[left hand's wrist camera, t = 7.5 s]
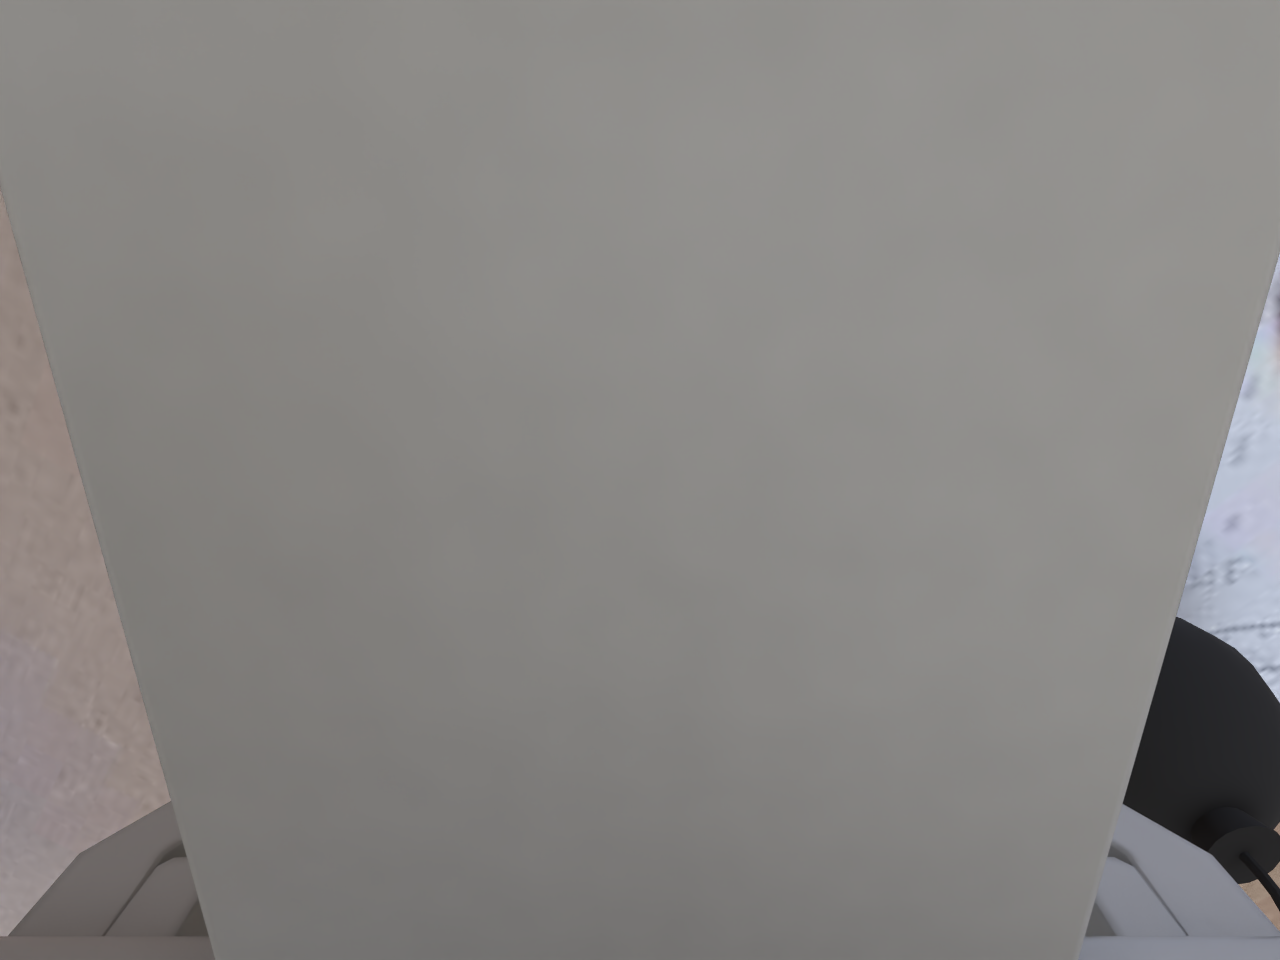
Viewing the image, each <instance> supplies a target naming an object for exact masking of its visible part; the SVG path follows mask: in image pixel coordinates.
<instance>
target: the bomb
mask: <svg viewBox="0 0 1280 960" xmlns="http://www.w3.org/2000/svg"><path fill="white" fill-rule="evenodd" d="M1123 804H1124V805H1125V806H1127V807H1129V808H1131V809H1132V810H1134V811H1136V812H1138V813H1139V814H1141V815H1143V816H1145V817H1146V818H1148V819H1150V820H1152V821H1153V822H1155V823H1157V824H1159V825H1160V826H1162V827H1164V828H1166V829H1167V830H1169V831H1171V832H1173V833H1174V834H1176V835H1178V836H1180V837H1181V838H1183V839H1185V840H1187V841H1189V842H1190V843H1192V844H1194V845H1196V846H1197V847H1199V848H1201V849H1203V850H1204V851H1206V852H1208V853H1210V854H1211V855H1213V857H1214V858H1215V859H1216V860H1217V861H1218V862H1219V863H1220V864H1221V866H1222V867H1223V868H1224V869H1225V870H1226V871H1227V872H1228V874H1229V875H1230V876H1231V877H1232V878H1233V879H1234V880H1235V882H1236V883H1237V884H1242V883H1249V882H1251V881H1254V880H1256V879H1258V880H1259V881H1260V882H1261V884H1262V885H1263V886H1264V888H1265V889H1266V890H1267V891H1268V893H1269V894H1270V895H1271V897H1272V899H1273V901H1274V902H1275V904H1276V906H1277V907H1278V909H1279V911H1280V888H1279V887H1278V886H1277V885H1276V883H1275V882H1274V881H1273V880H1272V878H1271V877H1270V876H1269V875H1268V874H1267V873H1269V872H1270V871H1272V870H1273V869H1274V868H1275V867H1276V865H1277V864H1278V863H1279V862H1280V835H1279V834H1278V833H1277V832H1276V831H1274V828H1275V827H1276V826H1277V825H1278V823H1279V822H1280V703H1279V701H1278V700H1277V698H1276V697H1275V695H1274V694H1273V692H1272V691H1271V690H1270V688H1269V687H1268V686H1267V684H1266V683H1265V681H1264V680H1263V679H1262V677H1261V676H1260V675H1259V673H1258V672H1257V671H1256V669H1255V668H1254V666H1253V665H1252V664H1251V663H1250V662H1249V661H1248V660H1247V659H1246V658H1245V657H1244V656H1242V655H1241V654H1240V653H1239V652H1238V651H1237V650H1236V649H1235V648H1234V647H1232V646H1230V645H1228V644H1227V643H1225V642H1223V641H1222V640H1220V639H1218V638H1217V637H1215V636H1213V635H1211V634H1209V633H1208V632H1206V631H1204V630H1202V629H1200V628H1198V627H1196V626H1194V625H1192V624H1191V623H1189V622H1187V621H1185V620H1183V619H1181V618H1178V617H1176V618H1175V621H1174V625H1173V628H1172V632H1171V635H1170V639H1169V642H1168V646H1167V649H1166V653H1165V656H1164V660H1163V663H1162V667H1161V670H1160V674H1159V677H1158V681H1157V684H1156V688H1155V691H1154V695H1153V698H1152V702H1151V705H1150V709H1149V712H1148V716H1147V720H1146V723H1145V727H1144V730H1143V734H1142V737H1141V741H1140V744H1139V748H1138V751H1137V755H1136V758H1135V762H1134V765H1133V769H1132V772H1131V776H1130V779H1129V783H1128V786H1127V790H1126V793H1125V797H1124V800H1123Z"/></svg>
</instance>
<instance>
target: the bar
mask: <svg viewBox="0 0 1280 960" xmlns="http://www.w3.org/2000/svg"><path fill="white" fill-rule="evenodd" d="M0 187H1V191H2V195H3V198H4V202H5V205H6V209H7V212H8V216H9V220H10V223H11V227H12V230H13V234H14V238H15V241H16V245H17V248H18V252H19V256H20V259H21V263H22V266H23V270H24V274H25V277H26V281H27V284H28V288H29V292H30V295H31V299H32V302H33V306H34V309H35V313H36V317H37V320H38V324H39V327H40V331H41V335H42V338H43V342H44V345H45V349H46V353H47V356H48V360H49V363H50V367H51V371H52V374H53V378H54V381H55V385H56V389H57V392H58V396H59V399H60V403H61V407H62V410H63V414H64V417H65V421H66V424H67V428H68V432H69V435H70V439H71V442H72V446H73V450H74V453H75V457H76V460H77V464H78V468H79V471H80V475H81V478H82V482H83V486H84V489H85V493H86V496H87V500H88V504H89V507H90V511H91V514H92V518H93V522H94V525H95V529H96V532H97V536H98V539H99V543H100V547H101V550H102V554H103V557H104V561H105V565H106V568H107V572H108V575H109V579H110V583H111V586H112V590H113V593H114V597H115V601H116V604H117V608H118V611H119V615H120V619H121V622H122V626H123V629H124V633H125V637H126V640H127V644H128V647H129V651H130V655H131V658H132V662H133V665H134V669H135V672H136V676H137V680H138V683H139V687H140V690H141V694H142V698H143V701H144V705H145V708H146V712H147V716H148V719H149V723H150V726H151V730H152V734H153V737H154V741H155V744H156V748H157V752H158V755H159V759H160V762H161V766H162V770H163V773H164V777H165V780H166V784H167V787H168V791H169V795H170V798H171V802H172V805H173V809H174V813H175V816H176V820H177V823H178V827H179V831H180V834H181V838H182V841H183V845H184V849H185V852H186V856H187V859H188V863H189V867H190V870H191V874H192V877H193V881H194V885H195V888H196V892H197V895H198V899H199V902H200V906H201V910H202V913H203V917H204V920H205V924H206V928H207V931H208V935H209V938H210V942H211V946H212V949H213V953H214V956H215V960H1078V958H1079V954H1080V951H1081V947H1082V944H1083V940H1084V937H1085V933H1086V930H1087V926H1088V923H1089V919H1090V916H1091V912H1092V909H1093V905H1094V902H1095V898H1096V895H1097V891H1098V888H1099V884H1100V881H1101V877H1102V874H1103V870H1104V867H1105V863H1106V860H1107V856H1108V853H1109V849H1110V846H1111V842H1112V839H1113V835H1114V832H1115V828H1116V825H1117V821H1118V818H1119V814H1120V811H1121V807H1122V804H1123V800H1124V797H1125V793H1126V790H1127V786H1128V783H1129V779H1130V776H1131V772H1132V769H1133V765H1134V762H1135V758H1136V755H1137V751H1138V748H1139V744H1140V741H1141V737H1142V734H1143V730H1144V727H1145V723H1146V720H1147V716H1148V712H1149V709H1150V705H1151V702H1152V698H1153V695H1154V691H1155V688H1156V684H1157V681H1158V677H1159V674H1160V670H1161V667H1162V663H1163V660H1164V656H1165V653H1166V649H1167V646H1168V642H1169V639H1170V635H1171V632H1172V628H1173V625H1174V621H1175V618H1176V614H1177V611H1178V607H1179V604H1180V600H1181V597H1182V593H1183V590H1184V586H1185V583H1186V579H1187V576H1188V572H1189V569H1190V565H1191V562H1192V558H1193V555H1194V551H1195V548H1196V544H1197V541H1198V537H1199V534H1200V530H1201V527H1202V523H1203V520H1204V516H1205V513H1206V509H1207V506H1208V502H1209V499H1210V495H1211V492H1212V488H1213V485H1214V481H1215V478H1216V474H1217V471H1218V467H1219V464H1220V460H1221V457H1222V453H1223V450H1224V446H1225V443H1226V439H1227V436H1228V432H1229V428H1230V425H1231V421H1232V418H1233V414H1234V411H1235V407H1236V404H1237V400H1238V397H1239V393H1240V390H1241V386H1242V383H1243V379H1244V376H1245V372H1246V369H1247V365H1248V362H1249V358H1250V355H1251V351H1252V348H1253V344H1254V341H1255V337H1256V334H1257V330H1258V327H1259V323H1260V320H1261V316H1262V313H1263V309H1264V306H1265V302H1266V299H1267V295H1268V292H1269V288H1270V285H1271V281H1272V278H1273V274H1274V271H1275V267H1276V264H1277V260H1278V257H1279V253H1280V0H0Z"/></svg>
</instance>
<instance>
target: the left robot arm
mask: <svg viewBox="0 0 1280 960" xmlns="http://www.w3.org/2000/svg"><path fill="white" fill-rule="evenodd" d="M0 960H215V956H214V953H213V949H212V946H211V942H210V938H209V935H208V931H207V928H206V924H205V920H204V917H203V913H202V910H201V906H200V902H199V899H198V895H197V892H196V888H195V885H194V881H193V877H192V874H191V870H190V867H189V863H188V859H187V856H186V852H185V849H184V845H183V841H182V838H181V834H180V831H179V827H178V823H177V820H176V816H175V813H174V809H173V805H172V802H171V801H170V802H169V803H167V804H165V805H163V806H162V807H160V808H158V809H156V810H155V811H153V812H151V813H149V814H148V815H146V816H144V817H143V818H141V819H139V820H137V821H136V822H134V823H132V824H130V825H129V826H127V827H125V828H123V829H122V830H120V831H118V832H116V833H115V834H113V835H111V836H109V837H108V838H106V839H104V840H102V841H101V842H99V843H97V844H95V845H94V846H92V847H90V848H89V849H87V850H85V851H83V852H82V853H80V854H79V855H78V856H77V857H76V858H75V859H74V861H73V862H72V863H71V864H70V865H69V866H68V867H67V869H66V870H65V871H64V872H63V873H62V874H61V875H60V877H59V878H58V879H57V880H56V881H55V882H54V883H53V885H52V886H51V887H50V888H49V889H48V890H47V892H46V893H45V894H44V895H43V896H42V897H41V898H40V900H39V901H38V902H37V903H36V904H35V905H34V906H33V908H32V909H31V910H30V911H29V912H28V913H27V915H26V916H25V917H24V918H23V919H22V920H21V921H20V923H19V924H18V925H17V926H16V927H15V928H14V929H13V931H12V932H11V933H10V934H9V935H8V936H0ZM1078 960H1280V932H1279V930H1278V929H1277V928H1276V927H1275V926H1274V925H1273V924H1272V922H1271V921H1270V920H1269V919H1268V918H1267V917H1266V916H1265V914H1264V913H1263V912H1262V911H1261V910H1260V909H1259V908H1258V907H1257V905H1256V904H1255V903H1254V902H1253V901H1252V900H1251V899H1250V897H1249V896H1248V895H1247V894H1246V893H1245V892H1244V891H1243V889H1242V888H1241V887H1240V886H1239V885H1238V884H1237V883H1236V882H1235V880H1234V879H1233V878H1232V877H1231V876H1230V875H1229V874H1228V872H1227V871H1226V870H1225V869H1224V868H1223V867H1222V866H1221V864H1220V863H1219V862H1218V861H1217V860H1216V859H1215V858H1214V857H1213V855H1211V854H1210V853H1208V852H1206V851H1204V850H1203V849H1201V848H1199V847H1197V846H1196V845H1194V844H1192V843H1190V842H1189V841H1187V840H1185V839H1183V838H1181V837H1180V836H1178V835H1176V834H1174V833H1173V832H1171V831H1169V830H1167V829H1166V828H1164V827H1162V826H1160V825H1159V824H1157V823H1155V822H1153V821H1152V820H1150V819H1148V818H1146V817H1145V816H1143V815H1141V814H1139V813H1138V812H1136V811H1134V810H1132V809H1131V808H1129V807H1127V806H1125V805H1124V804H1122V807H1121V811H1120V814H1119V818H1118V821H1117V825H1116V828H1115V832H1114V835H1113V839H1112V842H1111V846H1110V849H1109V853H1108V856H1107V860H1106V863H1105V867H1104V870H1103V874H1102V877H1101V881H1100V884H1099V888H1098V891H1097V895H1096V898H1095V902H1094V905H1093V909H1092V912H1091V916H1090V919H1089V923H1088V926H1087V930H1086V933H1085V937H1084V940H1083V944H1082V947H1081V951H1080V954H1079V958H1078Z"/></svg>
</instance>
